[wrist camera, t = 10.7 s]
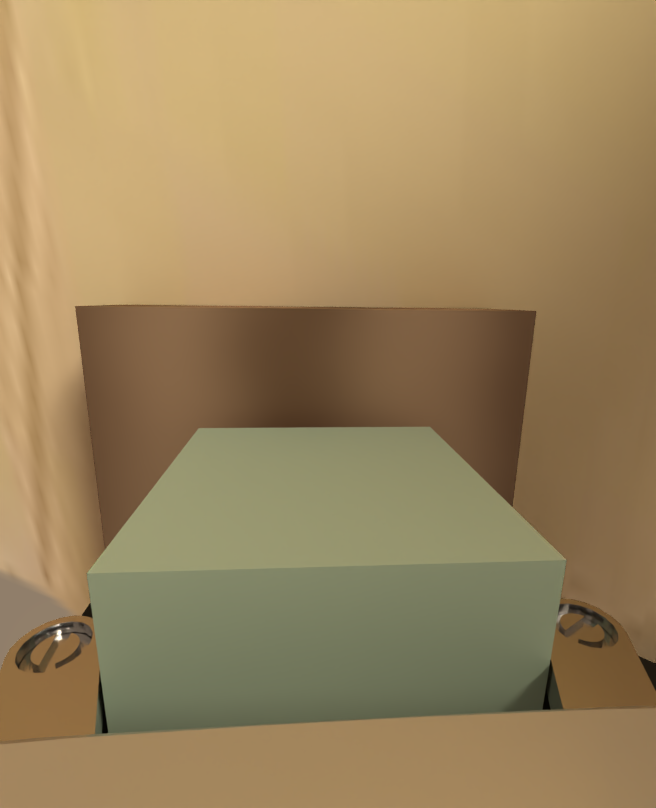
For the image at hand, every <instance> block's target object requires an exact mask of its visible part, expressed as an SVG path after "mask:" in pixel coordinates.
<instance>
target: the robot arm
mask: <svg viewBox="0 0 656 808" xmlns="http://www.w3.org/2000/svg"><path fill="white" fill-rule="evenodd" d="M0 808H656V664H655V663H653V662H651V661H648V660H646V659H644V658H642V657H639V656H638V655H637V653H636V651H635V649H634V647H633V645H632V642H631V640H630V638H629V636H628V634H627V633H626V631H625V630H624V628H623V627H622V626H621V624H620V623H619V622H617V621H616V620H615V619H614V618H613V617H612V616H610V615H609V614H607V613H606V612H604V611H602V610H601V609H599V608H597V607H594V606H592V605H590V604H587V603H585V602H581V601H577V600H573V599H563V598H560V604H559V610H558V617H557V623H556V629H555V635H554V641H553V647H552V654H551V660H550V666H549V672H548V678H547V684H546V690H545V697H544V703H543V709H542V710H531V711H510V712H489V713H469V714H450V715H430V716H411V717H392V718H373V719H354V720H335V721H317V722H298V723H280V724H262V725H244V726H226V727H208V728H190V729H174V730H157V731H140V732H123V733H108V727H107V720H106V713H105V705H104V698H103V690H102V683H101V676H100V668H99V661H98V653H97V646H96V639H95V631H94V624H93V616H92V609H91V603H90V604H89V606H88V607H87V609H86V610H85V612H84V613H83V614H82V616H69V617H63V618H59V619H56V620H53V621H50V622H47V623H45V624H43V625H41V626H39V627H37V628H35V629H33V630H31V631H30V632H29V633H27V634H26V635H24V636H23V637H21V638H20V639H19V640H18V641H17V642H16V643H15V644H14V645H13V646H12V647H11V648H10V650H9V652H8V653H7V655H6V657H5V659H4V661H3V664H2V668H1V670H0Z"/></svg>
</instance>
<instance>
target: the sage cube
mask: <svg viewBox="0 0 656 808" xmlns="http://www.w3.org/2000/svg"><path fill="white" fill-rule="evenodd" d="M566 561H567V560H566V559H565V558H564V557H563V556H562V555H561V554H560V553H559V552H558V551H557V550H556V549H555V548H554V547H553V546H552V545H551V544H550V543H549V542H548V541H547V540H546V539H545V538H544V537H543V536H541V535H540V534H539V533H538V532H537V531H536V530H535V529H534V528H533V527H532V526H531V525H530V524H529V523H528V522H527V521H526V520H525V519H524V518H523V517H522V516H521V515H520V514H519V513H518V512H517V511H516V510H515V509H514V508H513V507H512V506H511V505H510V504H509V503H508V502H507V501H506V500H505V499H504V498H503V497H502V496H501V495H499V494H498V493H497V492H496V491H495V490H494V489H493V488H492V487H491V486H490V485H489V484H488V483H487V482H486V481H485V480H484V479H483V478H482V477H481V476H480V475H479V474H478V473H477V472H476V471H475V470H474V469H473V468H472V467H471V466H470V465H469V464H468V463H467V462H466V461H465V460H464V459H463V458H462V457H461V456H460V455H459V454H457V453H456V452H455V451H454V450H453V449H452V448H451V447H450V446H449V445H448V444H447V443H446V442H445V441H444V440H443V439H442V438H441V437H440V436H439V435H438V434H437V433H436V432H435V431H434V430H433V429H432V428H431V427H298V428H199V429H198V430H197V431H196V432H195V434H194V435H193V436H192V438H191V439H190V440H189V441H188V443H187V444H186V445H185V447H184V448H183V449H182V451H181V452H180V453H179V454H178V456H177V457H176V458H175V460H174V461H173V462H172V464H171V465H170V466H169V467H168V469H167V470H166V471H165V473H164V474H163V475H162V476H161V478H160V479H159V480H158V482H157V483H156V484H155V486H154V487H153V488H152V489H151V491H150V492H149V493H148V495H147V496H146V497H145V499H144V500H143V501H142V502H141V504H140V505H139V506H138V508H137V509H136V510H135V512H134V513H133V514H132V515H131V517H130V518H129V519H128V521H127V522H126V523H125V524H124V526H123V527H122V528H121V530H120V531H119V532H118V534H117V535H116V536H115V537H114V539H113V540H112V541H111V543H110V544H109V545H108V547H107V548H106V549H105V550H104V552H103V553H102V554H101V556H100V557H99V558H98V560H97V561H96V562H95V563H94V565H93V566H92V567H91V569H90V570H89V571H88V572H87V579H88V587H89V594H90V602H91V609H92V616H93V624H94V631H95V639H96V646H97V653H98V661H99V668H100V676H101V683H102V690H103V698H104V705H105V713H106V720H107V727H108V733H123V732H140V731H157V730H174V729H190V728H208V727H226V726H244V725H262V724H280V723H298V722H317V721H335V720H354V719H373V718H392V717H411V716H430V715H450V714H469V713H489V712H510V711H531V710H542V709H543V703H544V697H545V690H546V684H547V678H548V672H549V666H550V660H551V654H552V647H553V641H554V635H555V629H556V623H557V617H558V610H559V604H560V598H561V592H562V586H563V580H564V574H565V567H566Z"/></svg>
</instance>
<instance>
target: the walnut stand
mask: <svg viewBox="0 0 656 808" xmlns="http://www.w3.org/2000/svg"><path fill="white" fill-rule="evenodd" d="M75 308H76V316H77V324H78V333H79V341H80V349H81V357H82V365H83V373H84V382H85V390H86V398H87V406H88V414H89V422H90V431H91V439H92V447H93V455H94V463H95V471H96V480H97V488H98V496H99V504H100V512H101V520H102V529H103V537H104V545H105V549H106V548H107V547H108V545H109V544H110V543H111V541H112V540H113V539H114V537H115V536H116V535H117V534H118V532H119V531H120V530H121V528H122V527H123V526H124V524H125V523H126V522H127V521H128V519H129V518H130V517H131V515H132V514H133V513H134V512H135V510H136V509H137V508H138V506H139V505H140V504H141V502H142V501H143V500H144V499H145V497H146V496H147V495H148V493H149V492H150V491H151V489H152V488H153V487H154V486H155V484H156V483H157V482H158V480H159V479H160V478H161V476H162V475H163V474H164V473H165V471H166V470H167V469H168V467H169V466H170V465H171V464H172V462H173V461H174V460H175V458H176V457H177V456H178V454H179V453H180V452H181V451H182V449H183V448H184V447H185V445H186V444H187V443H188V441H189V440H190V439H191V438H192V436H193V435H194V434H195V432H196V431H197V430H198V429H199V428H298V427H431V428H432V429H433V430H434V431H435V432H436V433H437V434H438V435H439V436H440V437H441V438H442V439H443V440H444V441H445V442H446V443H447V444H448V445H449V446H450V447H451V448H452V449H453V450H454V451H455V452H456V453H457V454H459V455H460V456H461V457H462V458H463V459H464V460H465V461H466V462H467V463H468V464H469V465H470V466H471V467H472V468H473V469H474V470H475V471H476V472H477V473H478V474H479V475H480V476H481V477H482V478H483V479H484V480H485V481H486V482H487V483H488V484H489V485H490V486H491V487H492V488H493V489H494V490H495V491H496V492H497V493H498V494H499V495H501V496H502V497H503V498H504V499H505V500H506V501H507V502H508V503H509V504H510V505H511V506H512V505H513V497H514V489H515V481H516V472H517V464H518V456H519V448H520V440H521V432H522V423H523V415H524V407H525V399H526V391H527V382H528V374H529V366H530V358H531V350H532V342H533V333H534V325H535V317H536V311H521V310H501V309H454V308H363V307H272V306H181V305H101V306H75Z"/></svg>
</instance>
